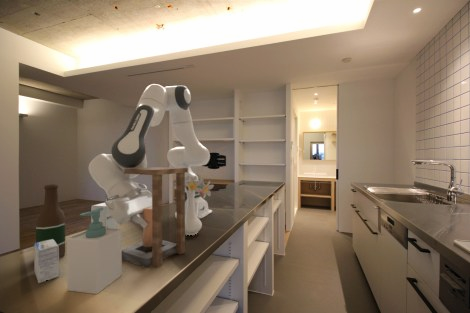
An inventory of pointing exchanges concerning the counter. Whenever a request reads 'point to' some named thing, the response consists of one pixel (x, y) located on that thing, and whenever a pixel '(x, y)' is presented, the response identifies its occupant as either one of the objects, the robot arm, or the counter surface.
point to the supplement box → (105, 216)
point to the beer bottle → (51, 220)
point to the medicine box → (46, 260)
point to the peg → (147, 230)
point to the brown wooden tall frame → (160, 220)
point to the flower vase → (191, 219)
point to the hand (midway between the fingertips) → (151, 223)
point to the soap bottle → (94, 257)
